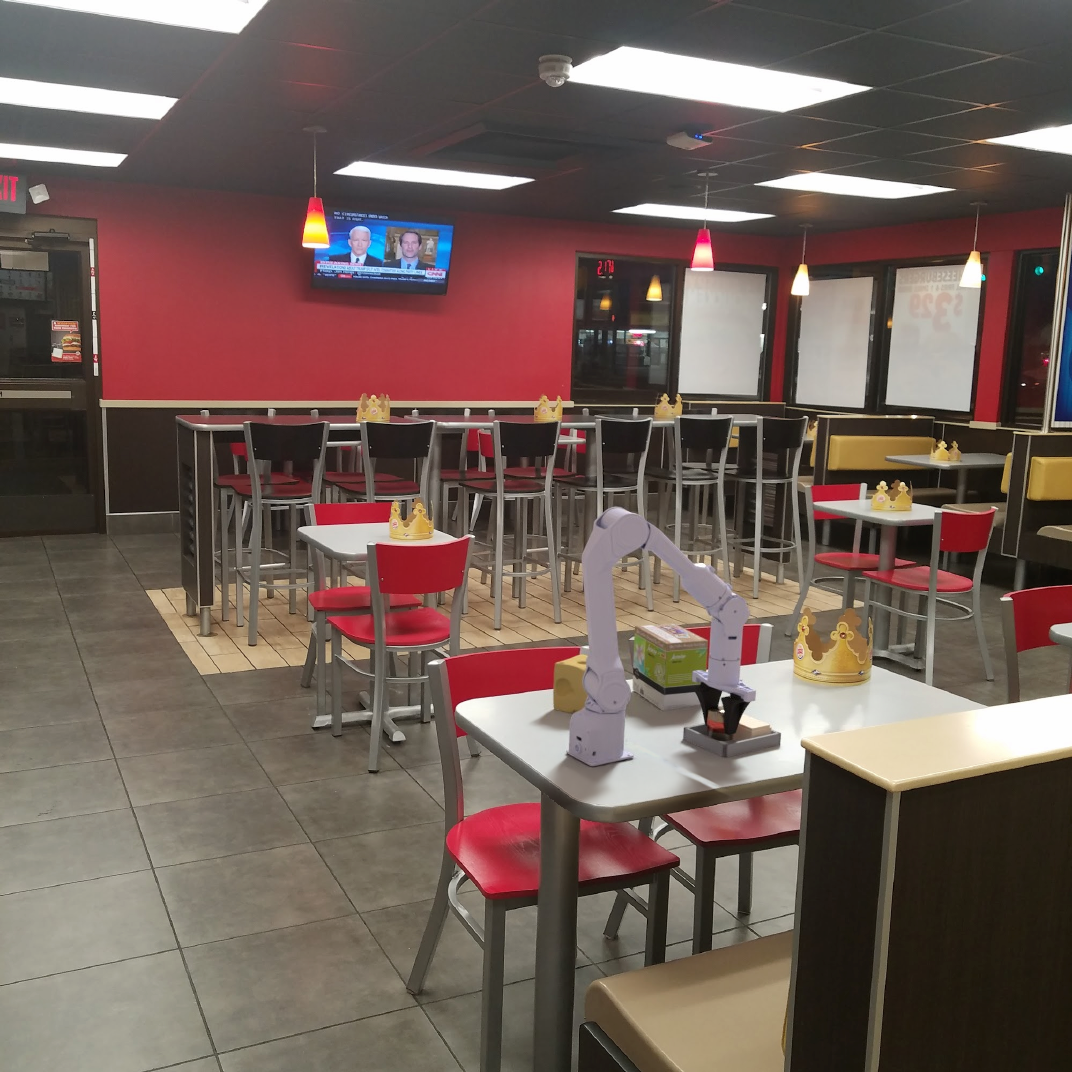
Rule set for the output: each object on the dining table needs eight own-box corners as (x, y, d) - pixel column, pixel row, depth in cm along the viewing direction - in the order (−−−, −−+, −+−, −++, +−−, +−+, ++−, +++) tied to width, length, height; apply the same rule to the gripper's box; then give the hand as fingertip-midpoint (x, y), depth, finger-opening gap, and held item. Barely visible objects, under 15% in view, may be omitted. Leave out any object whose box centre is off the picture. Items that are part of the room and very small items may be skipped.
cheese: (593, 721, 205) (595, 671, 204) (549, 709, 212) (551, 661, 210) (622, 708, 214) (624, 661, 212) (578, 697, 220) (580, 651, 218)
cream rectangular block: (750, 747, 191) (752, 729, 190) (720, 734, 197) (721, 716, 197) (770, 743, 193) (771, 724, 193) (739, 730, 200) (740, 712, 200)
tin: (719, 743, 188) (720, 716, 188) (700, 734, 192) (702, 708, 192) (739, 738, 191) (740, 712, 190) (720, 730, 195) (722, 704, 194)
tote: (724, 761, 185) (725, 745, 185) (682, 742, 194) (683, 727, 194) (780, 748, 193) (781, 733, 192) (737, 731, 202) (738, 716, 201)
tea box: (630, 691, 226) (633, 624, 224) (671, 687, 229) (675, 621, 227) (662, 712, 212) (666, 641, 210) (706, 708, 215) (710, 638, 213)
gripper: (770, 664, 186) (764, 737, 188) (713, 645, 197) (709, 714, 200) (741, 669, 182) (736, 744, 184) (685, 649, 194) (681, 720, 196)
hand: (720, 729), depth 191 cm, fingers closed on tin, 5 cm apart
